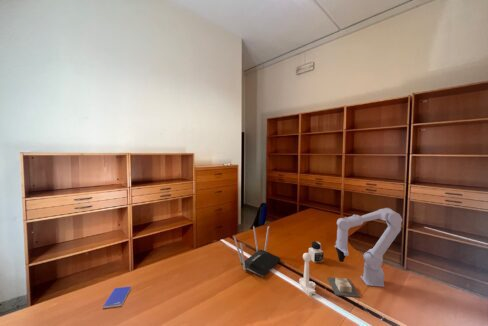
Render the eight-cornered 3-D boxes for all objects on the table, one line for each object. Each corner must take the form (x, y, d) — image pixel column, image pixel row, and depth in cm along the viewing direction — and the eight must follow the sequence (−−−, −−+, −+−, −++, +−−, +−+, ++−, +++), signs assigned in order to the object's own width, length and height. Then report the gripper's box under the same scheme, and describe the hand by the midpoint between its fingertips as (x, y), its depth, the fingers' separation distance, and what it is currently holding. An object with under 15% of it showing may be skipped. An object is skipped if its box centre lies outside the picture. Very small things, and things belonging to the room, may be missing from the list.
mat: (348, 279, 116) (348, 278, 116) (360, 297, 103) (360, 296, 103) (327, 278, 118) (327, 277, 118) (335, 295, 104) (335, 294, 104)
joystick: (297, 282, 114) (298, 248, 113) (309, 280, 115) (310, 247, 114) (307, 296, 103) (308, 259, 102) (320, 294, 105) (322, 257, 103)
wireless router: (258, 284, 112) (258, 249, 111) (227, 268, 126) (227, 238, 125) (284, 258, 139) (285, 230, 137) (257, 248, 153) (257, 222, 151)
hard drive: (121, 303, 95) (131, 286, 108) (102, 306, 94) (114, 288, 106) (121, 306, 96) (131, 289, 108) (102, 309, 94) (114, 290, 106)
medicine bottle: (314, 263, 133) (315, 245, 133) (308, 257, 140) (308, 240, 139) (323, 261, 135) (324, 244, 134) (316, 256, 142) (317, 239, 141)
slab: (346, 278, 112) (351, 287, 105) (346, 283, 112) (351, 292, 105) (335, 277, 113) (339, 286, 106) (335, 282, 113) (339, 291, 106)
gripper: (331, 233, 125) (330, 254, 126) (339, 244, 110) (338, 267, 111) (342, 234, 124) (341, 255, 125) (353, 245, 110) (351, 268, 111)
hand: (341, 261), depth 118 cm, fingers closed
